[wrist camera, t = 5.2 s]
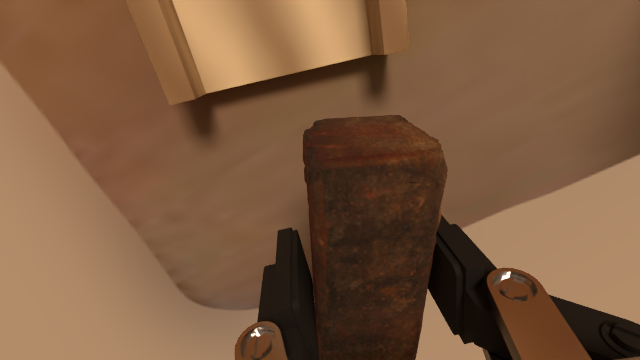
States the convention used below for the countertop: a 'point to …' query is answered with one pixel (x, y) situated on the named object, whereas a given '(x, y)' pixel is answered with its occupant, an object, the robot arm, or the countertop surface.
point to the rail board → (260, 38)
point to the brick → (371, 233)
